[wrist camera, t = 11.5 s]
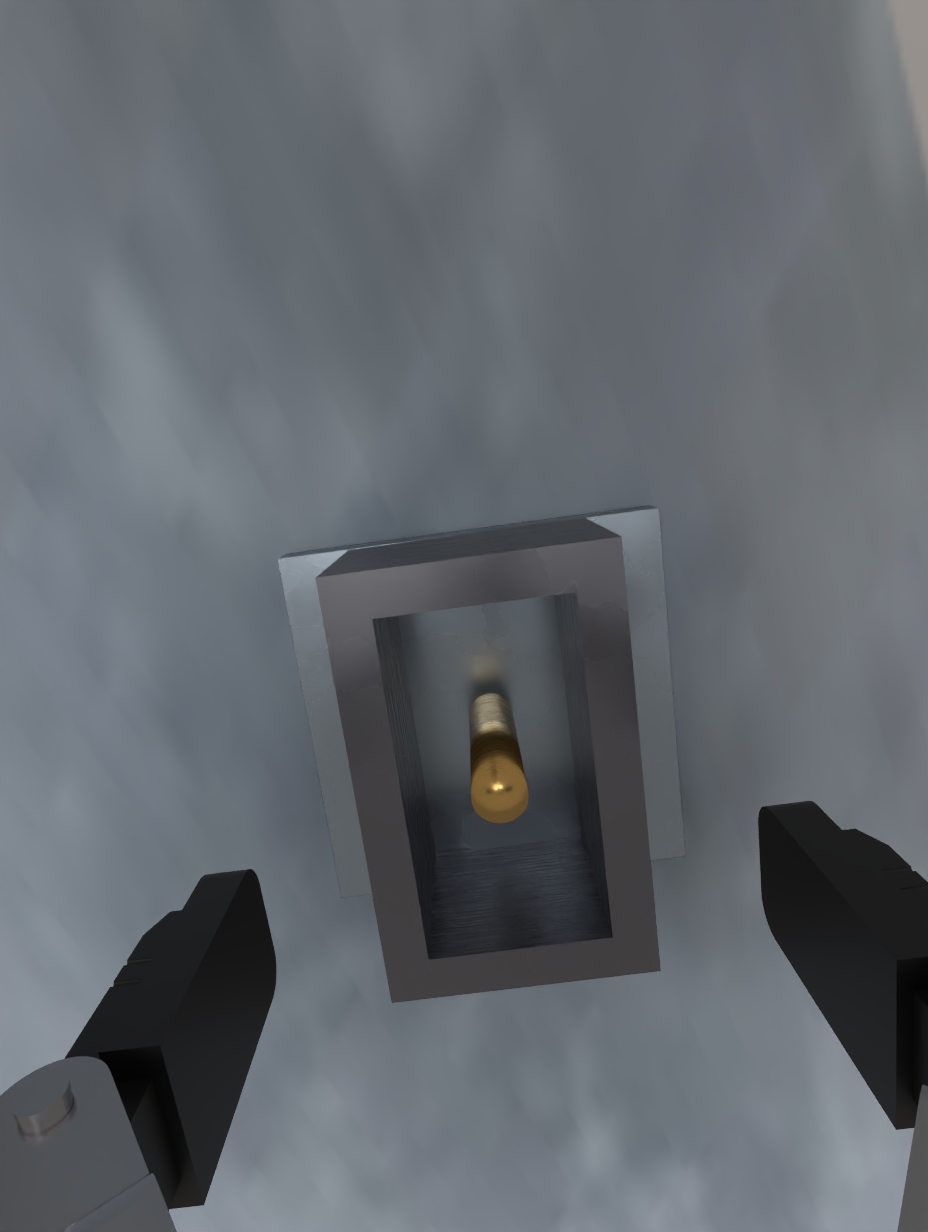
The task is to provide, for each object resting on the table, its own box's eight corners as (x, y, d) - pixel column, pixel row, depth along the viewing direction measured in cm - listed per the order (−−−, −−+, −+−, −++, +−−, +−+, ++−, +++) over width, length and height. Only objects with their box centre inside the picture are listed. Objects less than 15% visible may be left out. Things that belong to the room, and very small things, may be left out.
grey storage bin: (348, 549, 19) (315, 577, 15) (584, 517, 19) (621, 536, 15) (406, 890, 21) (391, 1002, 17) (619, 864, 21) (660, 970, 17)
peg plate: (286, 554, 20) (215, 594, 14) (649, 505, 20) (726, 526, 14) (347, 878, 22) (305, 1028, 17) (675, 838, 22) (752, 976, 16)
